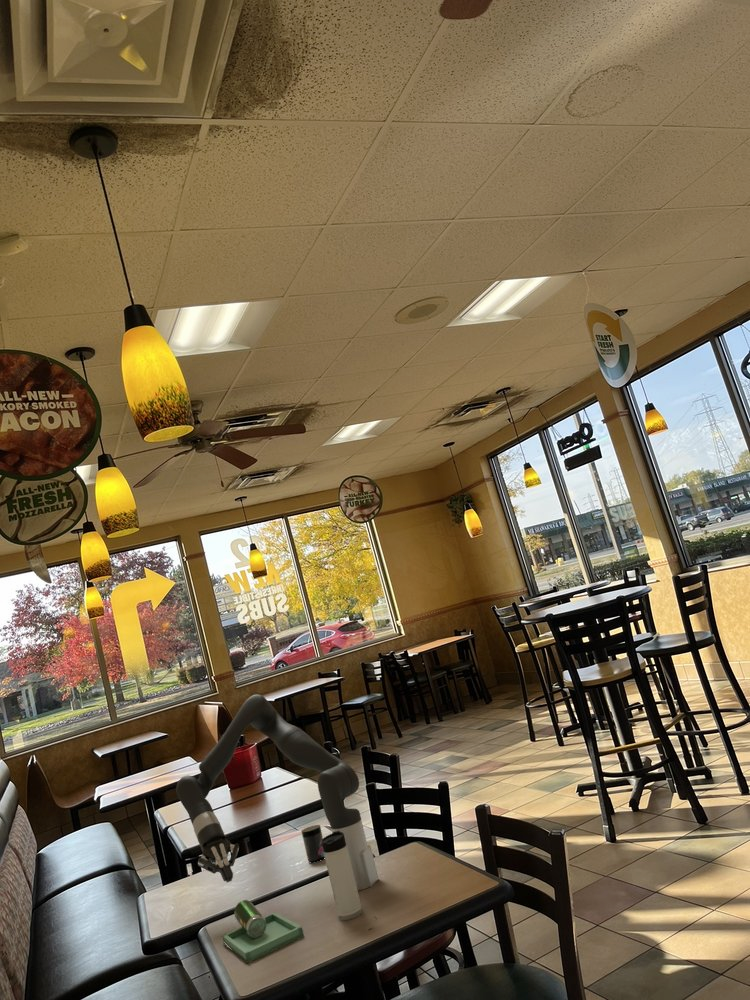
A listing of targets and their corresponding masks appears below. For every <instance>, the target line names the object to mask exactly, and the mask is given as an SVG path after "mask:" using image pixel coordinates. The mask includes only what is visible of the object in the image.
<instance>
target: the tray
mask: <svg viewBox="0 0 750 1000" xmlns="http://www.w3.org/2000/svg"><path fill="white" fill-rule="evenodd" d="M263 917H264V918H265V920H266V930H265V932H264V933H263V935H261V936H260V937H258V938H253V937H250V936H249V935H248V934H247V933H246V931H245V930H244V929H243V927H242V926H241V927H239V928H236V929H234V930H231V931H230V932H227V933H226V934H223V935H221V937H222V941H224V942H225V943H226V944H227V945H228V946H229V947H230V948H231V949H232V950H233V951H234V952H235V953H236V954H235V953H234V952H233V951H232V950H231V951H232V952H233V953H234V954H235V955H236V956H238V957H239V958H240V959H241V960H243V961H244V962H245V963H247V964H249V963H251V962H253V961H255V960H257V959H259V958H261V957H263V956H265V955H268V954H270V953H272V952H274V951H276V950H278V949H280V948H282V947H284V946H287V945H288V944H290V943H293V942H295V941H297V940H299V939H301V938H303V937H305V935H304V930H303V927H302V926H301V925H299V924H298V923H296V922H294V921H292V920H291V919H288V918H286V917H284V916H282V915H281V914H279V913H277V912H275V911H274V912H272V913H270V914H268V915H266V916H263ZM224 942H223V943H224Z"/></svg>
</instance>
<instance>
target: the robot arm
mask: <svg viewBox="0 0 750 1000" xmlns="http://www.w3.org/2000/svg"><path fill="white" fill-rule="evenodd" d="M249 726H251V727H252V728H254V729H255V730H256V731H259V732H260V733H262V734H263V735H265V737H267V738H268V739H270V740H271V741H272V742H273V743H274V744H275V746H276V747H277V749H278V750H279V751H280V753H282V754H283V755H284V756H285V757H286V758H287V759H288V760H289V761H291V762H292V763H293V764H295V765H297V766H299V767H301V768H305V769H308V770H309V769H310V770H313V771H317V772H320V774H319V775H318V778H317V789H318V793H319V798H320V800H321V804H322V807H323V810H324V815H325V817H326V819H327V821H328V823H329V827H330V831H331V834H332V833H333V832H335V831H340V832H343V833H344V837H345V842H346V845H347V849H348V853H349V857H350V861H351V865H352V870H353V874H354V878H355V882H356V886H357V890H358V891H362V890H365V889H367V888H372V887H373V885H375V884H376V882H377V881H378V880H379V879H378V878H379V874H378V871H377V866H376V862H375V858H374V854H373V849H372V846H371V845H370V844H368V841H367V837H366V833H365V830H364V829H365V828H364V824H363V820H362V816H361V812H360V810H359V809H358V808H348V807H346V806H345V804H344V801H343V799H345V798H348V797H350V796H352V795H354V794H355V793H356V792H357V791H358V790H359V789H360V780H359V777H358V774H357V772H356V771H355V769H353V768H352V767H351V765H349V764H348V763H347V762H346V761H344V760H341V758H338V757H337V756H335V755H334V754H333V753H331V752H329V751H328V750H327V749H326V748H324V747H323V746H321V745H320V743H318V742H316V741H315V740H314V739H313V738H312V736H310V735H309V734H307V733H306V732H305V731H304V730H303V729H301V728H300V727H299V726H298V727H297V726H296V725H292V724H291V723H289V722H287V721H286V720H285V719H284V718H283V717H282V716H281V715H280V714H279V712H277V710H276V709H275V708H274V706H273V705H272V704H271V703H270V701H268V699H267V698H265V696H264V695H262V694H258V693H257V694H253V695H251V696H250V697H248V698H247V699H246V700H245V701H244V703H242V705H241V707H240V708H239V710H238V711H237V713H236V715H235V716H234V718H233V720H231V722H230V723H229V725H228V727H227V728H226V730H225V731H224V733H223V734H222V736H221V737H220V739H219V740H218V742H217V743H216V744H215V746H214V747H213V748H212V749H211V750H210V751H209V753H208V754H207V755H206V756H205V757H204V759H203V760H202V761H201V762H200V764H199V765H198V769H199V771H200V775H199V776H198V778H196V777H195V776H192V775H184V776H182V777H181V778H180V779H178V781H177V784H176V787H175V790H176V795H177V797H178V800H179V801H180V803H181V804H182V806H183V808H184V809H185V810H186V813H187V814H188V817H189V819H190V822H191V824H192V827H193V832H194V833H195V837H196V838H197V841H198V844H199V846H200V849H201V851H202V853H201V857H199V858H198V861H197V866H198V867H200V868H202V869H203V870H205V871H208V872H210V873H212V874H217V873H220V875H221V878H222V880H223V882H226V883H230V882H232V881H233V877H234V872H233V870H232V868H231V867H233V866H234V865H235V862H236V859H237V856H238V853H239V849H240V844H239V843H238V842H236V843H235V844H232V843H231V842H230V841H229V840H228V838H227V836H226V834H225V832H224V830H223V828H222V825H221V823H220V821H219V819H218V817H217V816H216V814H215V812H214V809H213V807H212V805H211V803H210V801H209V800H208V799H206V798H207V797H208V796H209V794H210V791H211V790H212V788H213V786H214V785H215V784H214V783H216V780H217V778H218V777H219V775H220V774H221V773H222V772H223V771H224V770H225V768H227V766H228V765H229V763H230V762H231V761H232V758H233V756H234V754H235V753H236V750H237V748H238V743H239V741H240V739H241V736H242V735H243V733H244V732H245V730H246V729H247V728H248V727H249ZM229 852H231V855H230V859H228V856H229Z"/></svg>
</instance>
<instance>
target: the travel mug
mask: <svg viewBox="0 0 750 1000" xmlns="http://www.w3.org/2000/svg"><path fill="white" fill-rule="evenodd" d="M321 842H322V847H323V851H324V856H325V859H324V861H325V864H326V868H327V873H328V876H329V881H330V887H331V890H332V895H333V898H334V902H335V907H336V911H337V915H338V919H339V920H340V921H350V920H353V919H355V918H357V917H359V916H360V915H362V913H363V908H362V905H361V900H360V895H359V890H357V886H356V882H355V878H354V874H353V870H352V865H351V861H350V857H349V853H348V849H347V845H346V842H345V837H344V833H343V832H340V831H335V832H333V833H332V832H331V833H330V834H328V835H326V836H324V837H323V839H322V841H321Z"/></svg>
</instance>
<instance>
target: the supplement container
mask: <svg viewBox="0 0 750 1000" xmlns="http://www.w3.org/2000/svg"><path fill="white" fill-rule="evenodd" d="M301 837H302V840H303V844H304V849H305V853H306V857H307V861H308V863H310V862H311V863H310V864H315V863H314V862H317V861H320V860H322V861H324V860H325V859H324V858H325V856H324V851H323V847H322V842H321V841H322V839H323V838H324V836H323V832H322V828H321V825H320V824H314V825H311V826H308V827H305V828H304V829H302V830H301ZM323 859H324V860H323ZM320 862H321V861H320ZM317 863H318V862H317Z"/></svg>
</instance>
